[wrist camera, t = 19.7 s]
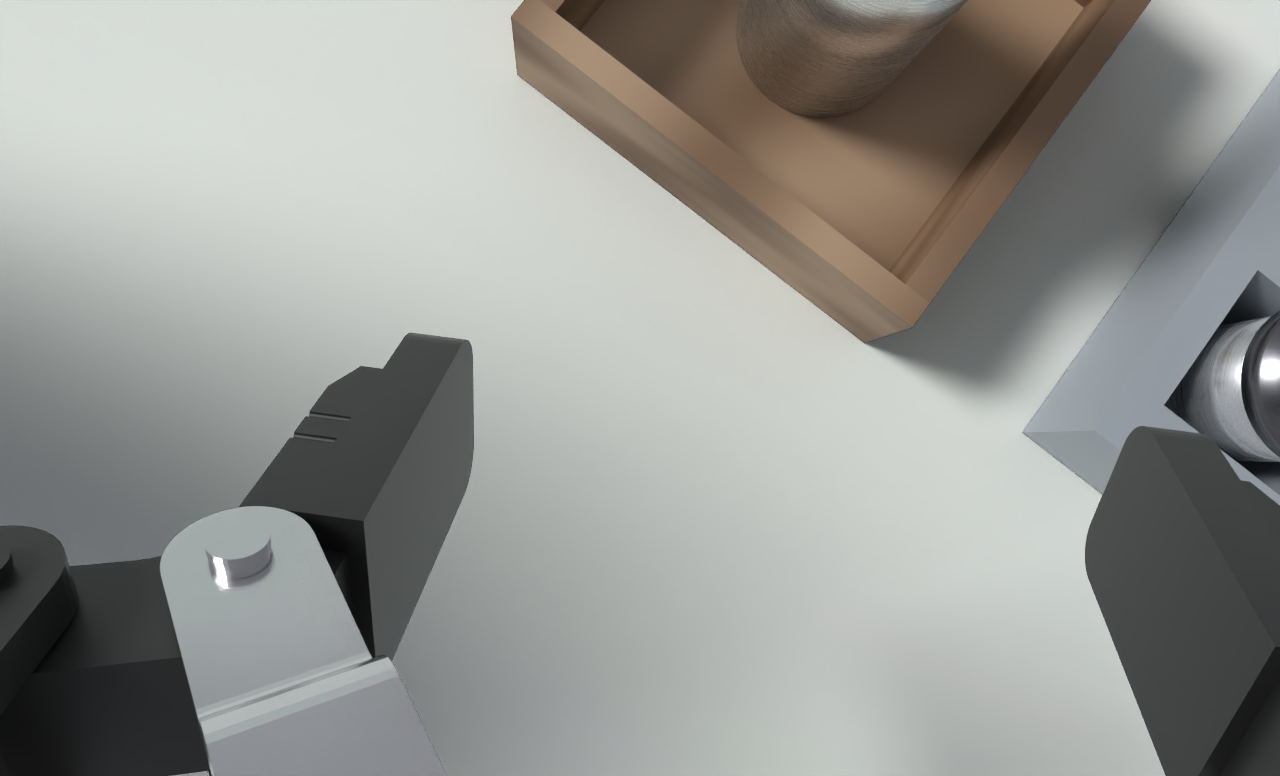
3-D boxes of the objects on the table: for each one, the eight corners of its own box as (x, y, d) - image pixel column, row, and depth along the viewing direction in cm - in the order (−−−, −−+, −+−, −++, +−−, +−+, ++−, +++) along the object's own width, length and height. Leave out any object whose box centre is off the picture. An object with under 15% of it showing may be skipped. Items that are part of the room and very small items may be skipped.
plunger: (1089, 409, 26) (1226, 400, 21) (1168, 297, 27) (1323, 260, 21) (1200, 495, 26) (1365, 509, 21) (1277, 382, 27) (1458, 367, 21)
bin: (517, 74, 26) (510, 16, 22) (776, -249, 27) (809, -353, 23) (864, 342, 26) (912, 327, 22) (1106, 13, 27) (1187, -50, 24)
